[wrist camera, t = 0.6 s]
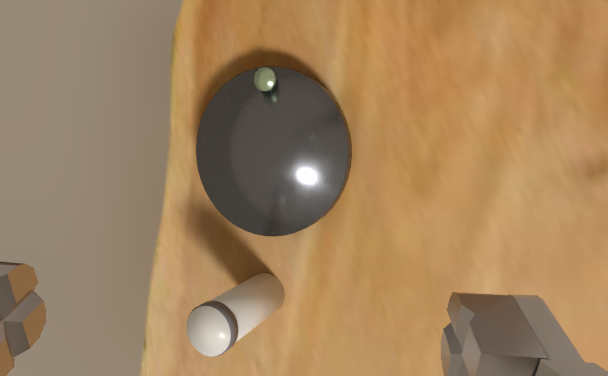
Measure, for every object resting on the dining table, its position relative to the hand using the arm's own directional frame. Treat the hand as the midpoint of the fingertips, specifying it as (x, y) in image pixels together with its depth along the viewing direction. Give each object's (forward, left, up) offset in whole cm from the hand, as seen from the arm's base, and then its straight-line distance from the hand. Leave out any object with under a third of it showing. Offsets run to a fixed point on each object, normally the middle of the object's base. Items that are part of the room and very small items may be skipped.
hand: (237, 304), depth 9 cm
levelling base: (+5, -17, -38) cm, 42 cm away
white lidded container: (+21, -12, -38) cm, 45 cm away
